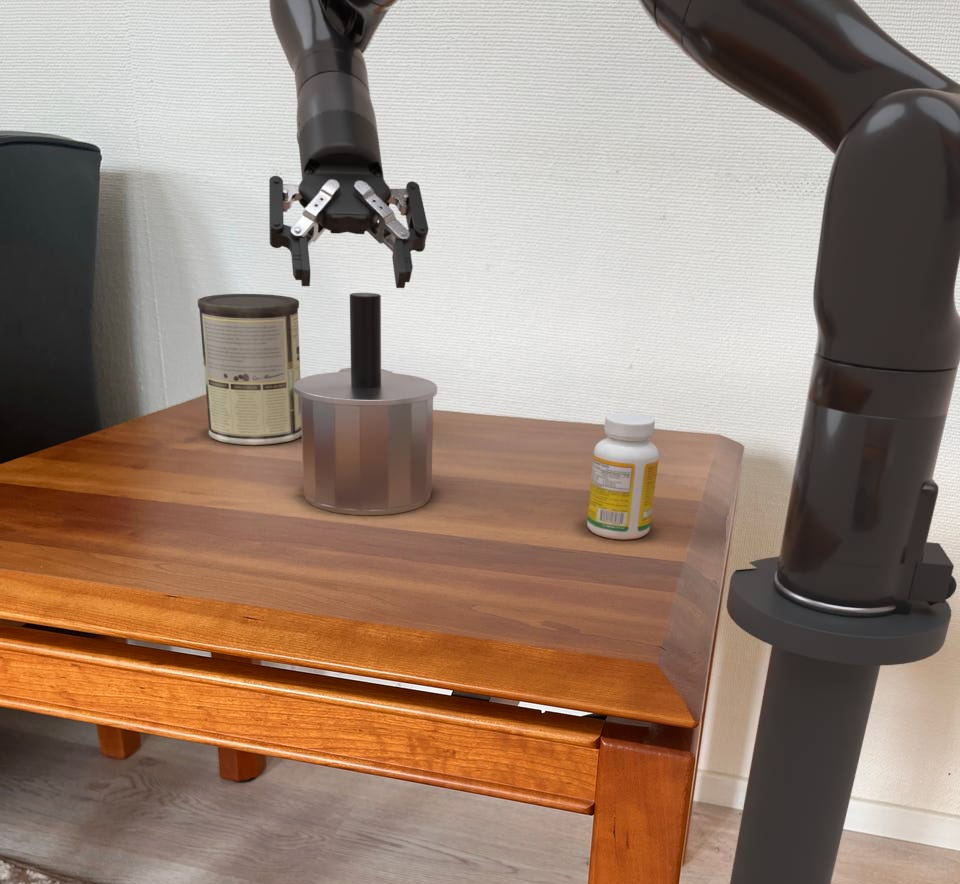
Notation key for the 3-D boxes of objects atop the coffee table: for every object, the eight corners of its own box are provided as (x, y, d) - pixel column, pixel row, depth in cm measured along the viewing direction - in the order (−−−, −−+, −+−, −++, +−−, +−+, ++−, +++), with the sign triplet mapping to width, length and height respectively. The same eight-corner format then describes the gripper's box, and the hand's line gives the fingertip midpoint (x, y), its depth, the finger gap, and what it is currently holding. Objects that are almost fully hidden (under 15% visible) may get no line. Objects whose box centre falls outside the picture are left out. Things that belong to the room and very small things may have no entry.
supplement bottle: (601, 542, 84) (612, 426, 80) (577, 522, 88) (586, 411, 84) (660, 538, 85) (674, 424, 81) (633, 518, 90) (645, 409, 86)
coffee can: (195, 427, 113) (184, 294, 107) (283, 419, 118) (277, 292, 112) (225, 449, 105) (215, 307, 99) (318, 440, 110) (314, 304, 104)
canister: (442, 484, 97) (444, 383, 93) (413, 520, 87) (414, 409, 83) (327, 473, 99) (325, 374, 95) (285, 508, 89) (281, 398, 85)
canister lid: (450, 389, 94) (452, 291, 90) (417, 418, 83) (419, 308, 79) (321, 379, 96) (318, 282, 92) (272, 406, 85) (267, 298, 81)
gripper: (261, 102, 91) (273, 251, 86) (418, 111, 94) (439, 254, 89) (261, 166, 98) (273, 307, 93) (407, 172, 101) (427, 309, 96)
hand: (354, 281), depth 91 cm, fingers open, 8 cm apart
